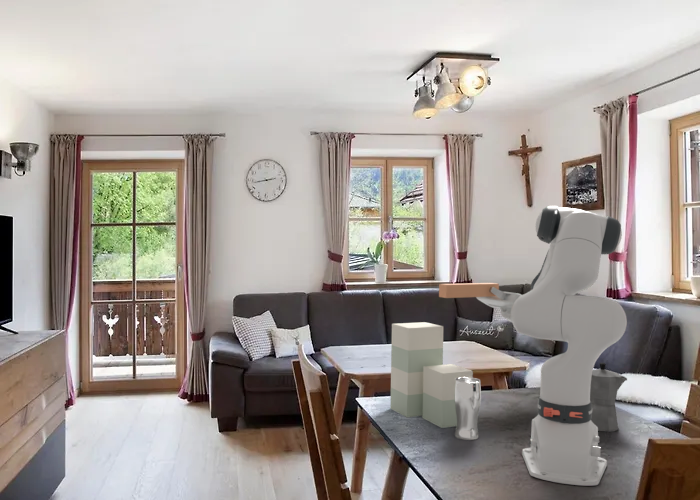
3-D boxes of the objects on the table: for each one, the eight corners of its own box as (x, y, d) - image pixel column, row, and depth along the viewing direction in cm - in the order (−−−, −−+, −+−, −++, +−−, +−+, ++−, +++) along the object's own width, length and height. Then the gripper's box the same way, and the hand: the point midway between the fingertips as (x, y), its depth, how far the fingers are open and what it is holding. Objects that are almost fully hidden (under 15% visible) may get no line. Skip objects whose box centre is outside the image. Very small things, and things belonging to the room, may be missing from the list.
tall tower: (423, 404, 185) (425, 322, 185) (441, 413, 176) (443, 326, 175) (390, 408, 180) (391, 323, 179) (407, 417, 171) (408, 328, 170)
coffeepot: (632, 428, 164) (633, 364, 164) (619, 436, 157) (620, 368, 157) (577, 416, 175) (578, 356, 175) (563, 423, 168) (564, 360, 168)
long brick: (490, 295, 191) (490, 282, 191) (498, 296, 188) (498, 283, 188) (438, 296, 183) (439, 284, 183) (446, 298, 179) (446, 285, 179)
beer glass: (468, 442, 150) (469, 384, 150) (447, 435, 155) (448, 379, 155) (485, 437, 154) (486, 380, 154) (464, 430, 160) (465, 375, 159)
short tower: (451, 414, 175) (452, 364, 175) (471, 423, 166) (472, 370, 166) (422, 418, 170) (423, 366, 170) (441, 428, 161) (442, 373, 161)
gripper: (497, 297, 203) (469, 277, 198) (540, 303, 185) (510, 281, 180) (490, 313, 202) (461, 294, 197) (532, 320, 184) (502, 300, 178)
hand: (485, 288), depth 188 cm, fingers closed on long brick, 4 cm apart
